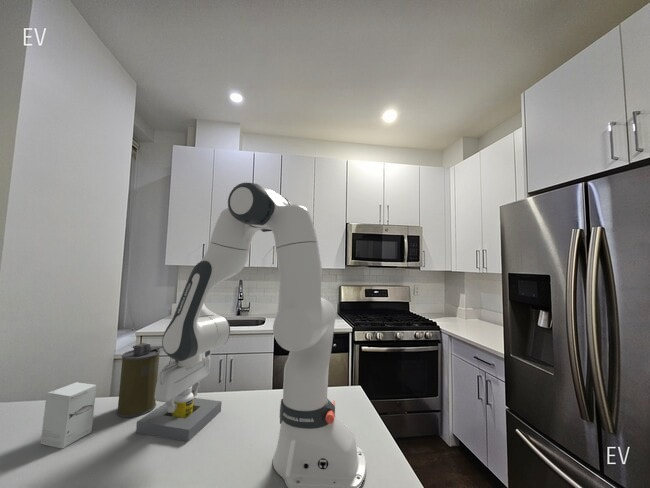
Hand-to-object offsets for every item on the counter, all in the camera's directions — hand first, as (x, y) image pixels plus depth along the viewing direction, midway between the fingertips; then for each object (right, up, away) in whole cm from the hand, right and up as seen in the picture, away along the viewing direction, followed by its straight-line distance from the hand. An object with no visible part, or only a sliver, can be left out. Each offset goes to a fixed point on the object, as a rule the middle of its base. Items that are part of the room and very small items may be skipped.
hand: (183, 403), depth 84 cm
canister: (-17, -5, +6) cm, 19 cm away
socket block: (0, -5, 0) cm, 5 cm away
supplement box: (-25, -4, -10) cm, 27 cm away
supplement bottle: (0, -5, 0) cm, 5 cm away
